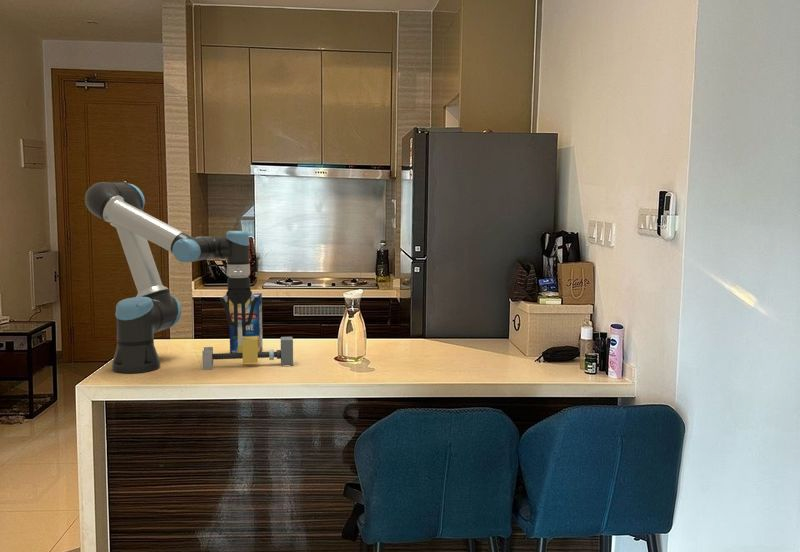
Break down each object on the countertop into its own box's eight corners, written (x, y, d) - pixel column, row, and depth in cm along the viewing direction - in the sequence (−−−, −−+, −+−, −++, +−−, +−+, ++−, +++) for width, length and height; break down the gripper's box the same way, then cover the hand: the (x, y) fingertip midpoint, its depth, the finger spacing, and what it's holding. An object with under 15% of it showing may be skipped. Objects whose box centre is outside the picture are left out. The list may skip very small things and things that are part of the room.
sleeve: (242, 363, 247) (242, 339, 247) (243, 359, 253) (242, 336, 252) (257, 362, 248) (257, 339, 248) (257, 358, 254) (257, 336, 253)
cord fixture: (202, 369, 244) (202, 343, 243) (204, 364, 252) (203, 338, 251) (293, 366, 250) (293, 340, 249) (292, 361, 258) (292, 336, 257)
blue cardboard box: (260, 355, 267) (259, 295, 265) (229, 355, 267) (228, 295, 264) (262, 351, 274) (261, 293, 272) (233, 351, 273) (232, 293, 271)
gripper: (218, 278, 242) (220, 348, 245) (258, 277, 245) (259, 346, 247) (219, 275, 250) (221, 344, 252) (258, 275, 252) (259, 342, 254)
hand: (240, 345), depth 249 cm, fingers closed
